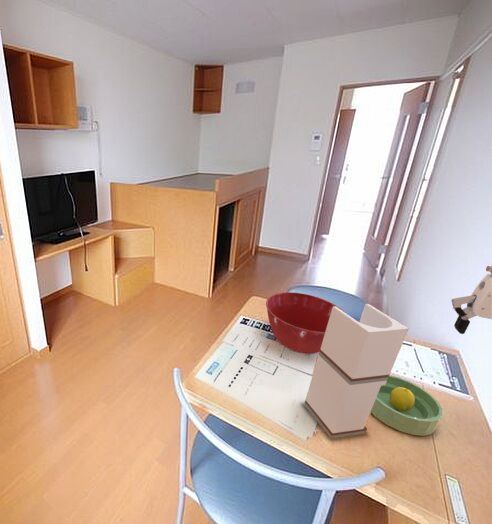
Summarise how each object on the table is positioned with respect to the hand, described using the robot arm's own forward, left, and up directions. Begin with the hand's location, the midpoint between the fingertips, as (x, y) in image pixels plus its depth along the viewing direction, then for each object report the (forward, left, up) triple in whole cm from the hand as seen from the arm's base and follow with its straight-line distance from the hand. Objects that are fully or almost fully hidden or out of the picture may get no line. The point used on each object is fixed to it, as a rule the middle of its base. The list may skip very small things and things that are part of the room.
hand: (483, 335), depth 77 cm
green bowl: (+10, 0, -30) cm, 32 cm away
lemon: (+10, 0, -30) cm, 31 cm away
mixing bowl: (+36, -24, -31) cm, 53 cm away
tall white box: (+28, +11, -31) cm, 43 cm away
